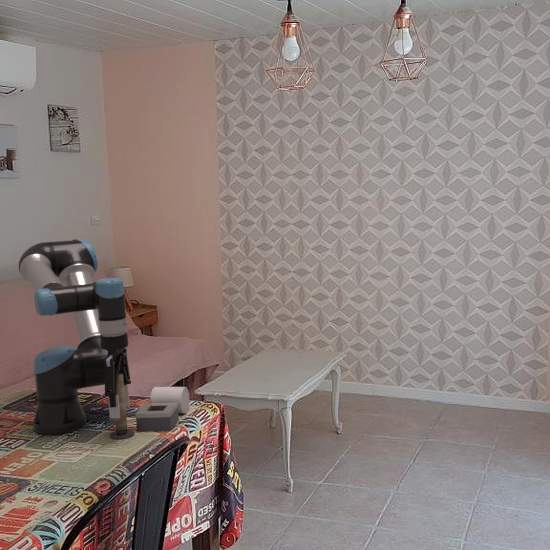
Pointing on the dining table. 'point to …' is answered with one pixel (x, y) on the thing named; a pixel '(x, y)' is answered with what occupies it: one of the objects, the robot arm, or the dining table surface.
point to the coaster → (117, 437)
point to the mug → (171, 397)
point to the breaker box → (157, 417)
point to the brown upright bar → (121, 408)
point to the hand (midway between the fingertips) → (120, 412)
